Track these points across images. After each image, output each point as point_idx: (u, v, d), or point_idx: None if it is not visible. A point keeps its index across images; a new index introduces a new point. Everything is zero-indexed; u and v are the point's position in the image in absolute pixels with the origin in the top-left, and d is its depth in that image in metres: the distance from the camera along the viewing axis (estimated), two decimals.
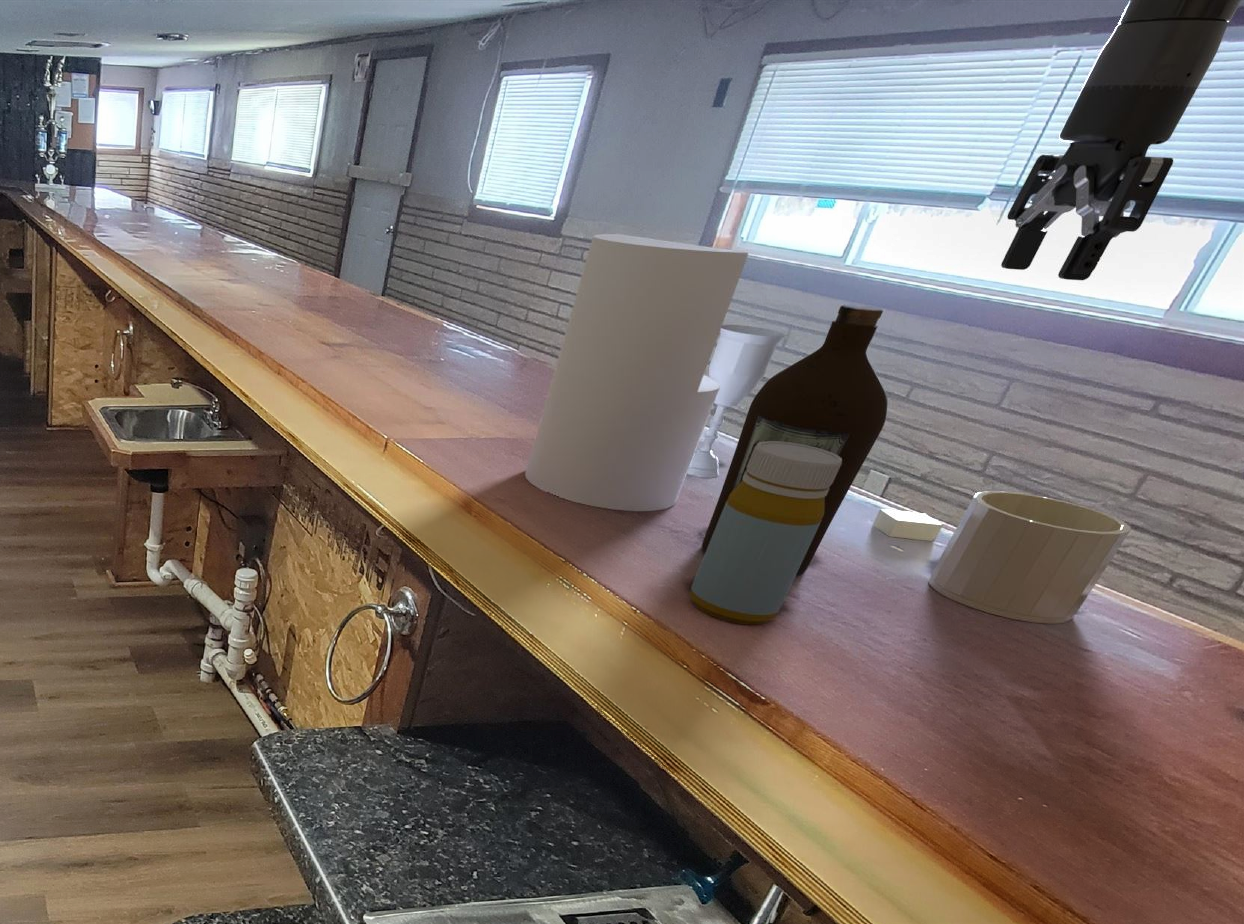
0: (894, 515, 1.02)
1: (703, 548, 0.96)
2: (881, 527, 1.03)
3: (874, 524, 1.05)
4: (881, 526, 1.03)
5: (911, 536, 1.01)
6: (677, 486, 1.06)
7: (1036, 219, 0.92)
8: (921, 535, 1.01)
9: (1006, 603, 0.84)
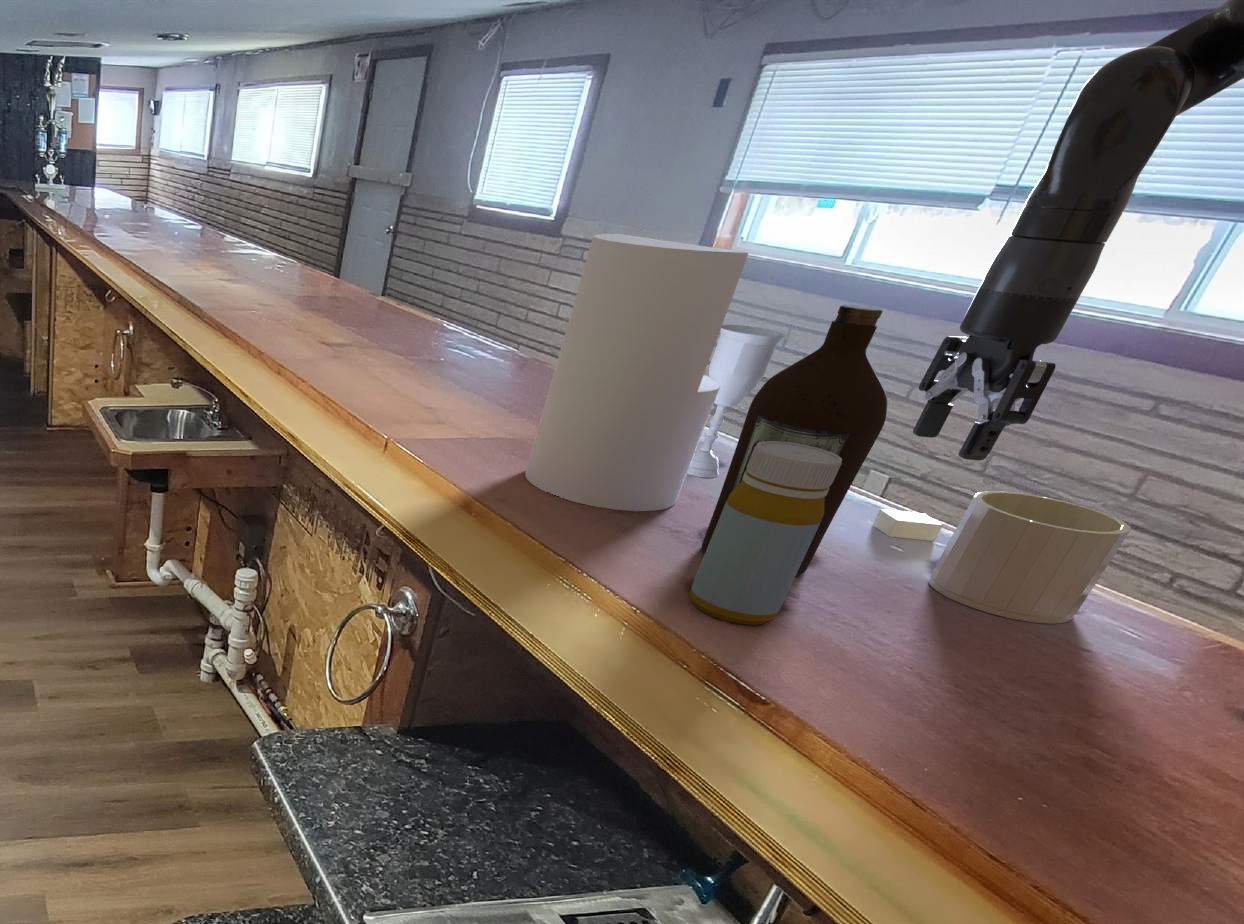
0: (894, 515, 1.02)
1: (703, 548, 0.96)
2: (881, 527, 1.03)
3: (874, 524, 1.05)
4: (881, 526, 1.03)
5: (911, 536, 1.01)
6: (677, 486, 1.06)
7: (943, 394, 0.99)
8: (921, 535, 1.01)
9: (1006, 603, 0.84)
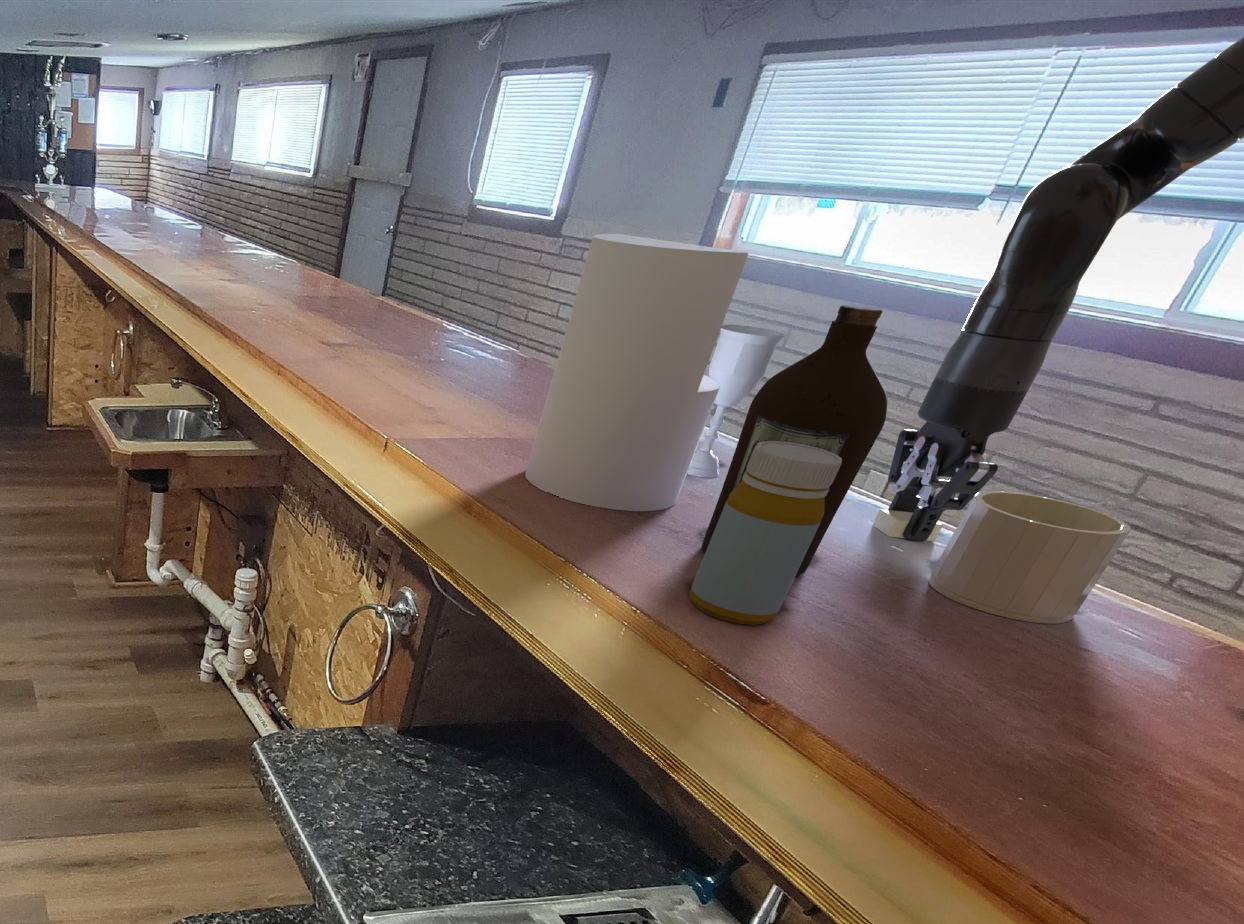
0: (894, 515, 1.02)
1: (703, 548, 0.96)
2: (881, 527, 1.03)
3: (874, 524, 1.05)
4: (881, 526, 1.03)
5: None
6: (677, 486, 1.06)
7: (911, 487, 1.02)
8: None
9: (1006, 603, 0.84)
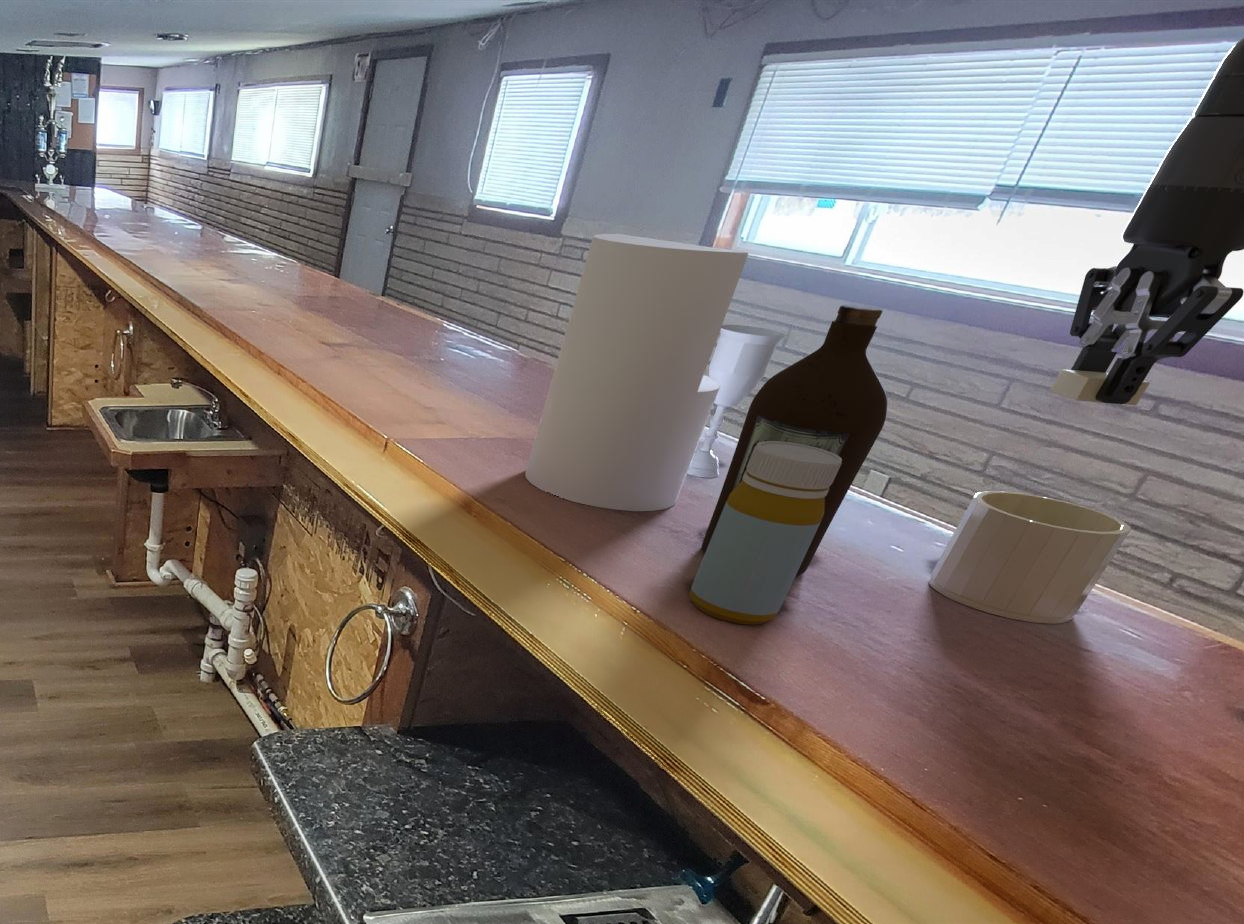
0: (1083, 374, 0.81)
1: (703, 548, 0.96)
2: (1064, 391, 0.82)
3: (1052, 389, 0.83)
4: (1064, 390, 0.82)
5: None
6: (677, 486, 1.06)
7: (1104, 339, 0.81)
8: None
9: (1006, 603, 0.84)
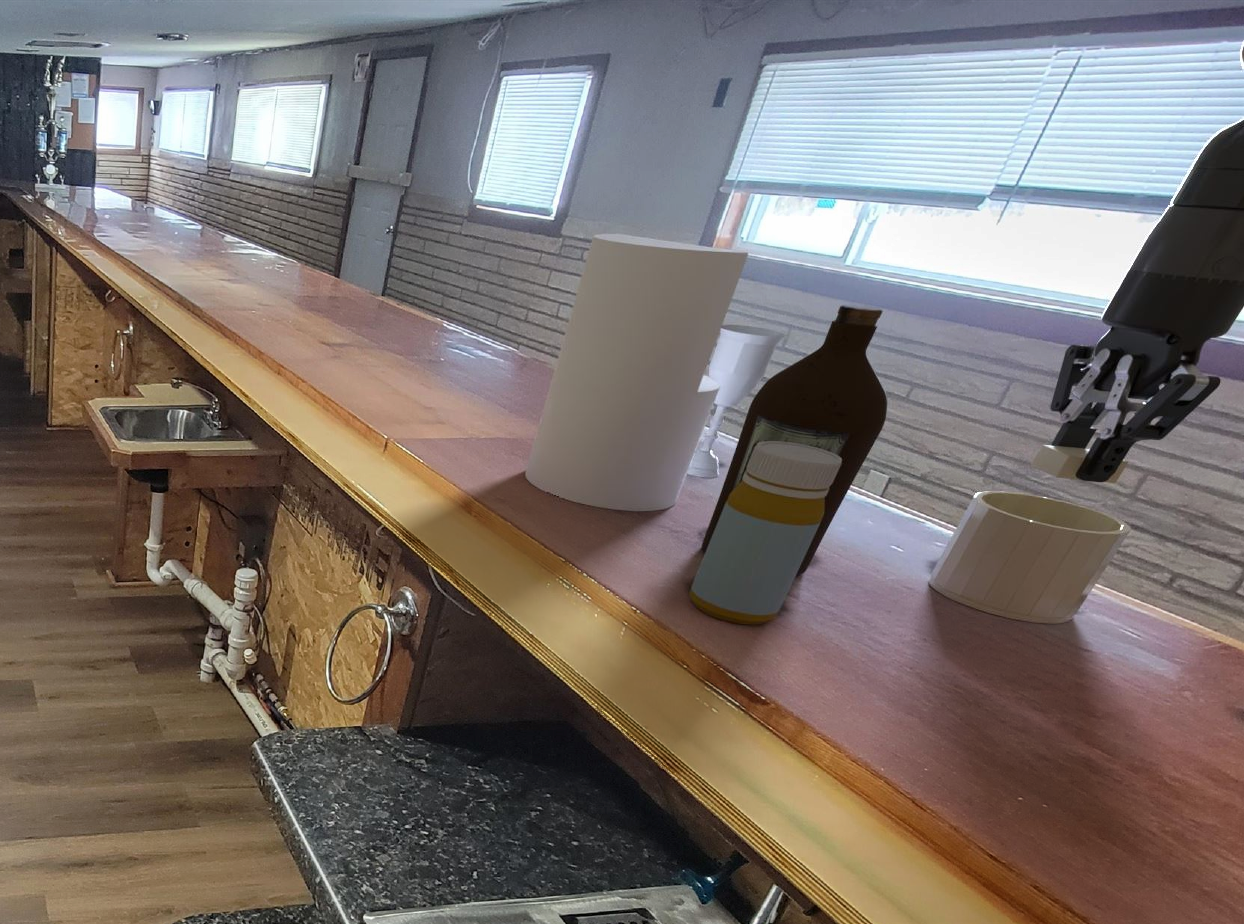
0: (1063, 451, 0.81)
1: (703, 548, 0.96)
2: (1044, 467, 0.82)
3: (1033, 464, 0.84)
4: (1044, 465, 0.83)
5: None
6: (677, 486, 1.06)
7: (1084, 416, 0.82)
8: None
9: (1006, 603, 0.84)
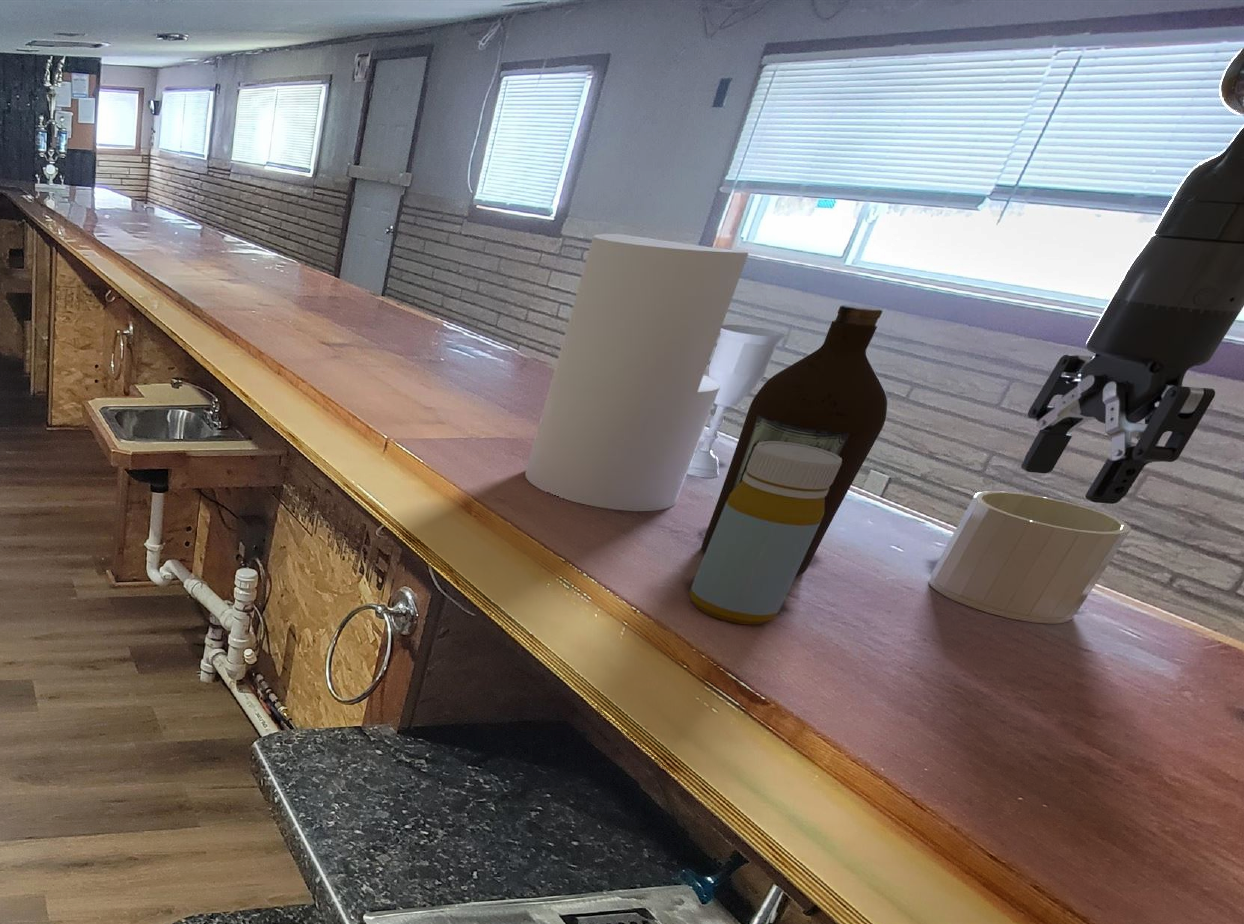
0: None
1: (703, 548, 0.96)
2: None
3: None
4: None
5: None
6: (677, 486, 1.06)
7: (1060, 423, 0.84)
8: None
9: (1006, 603, 0.84)
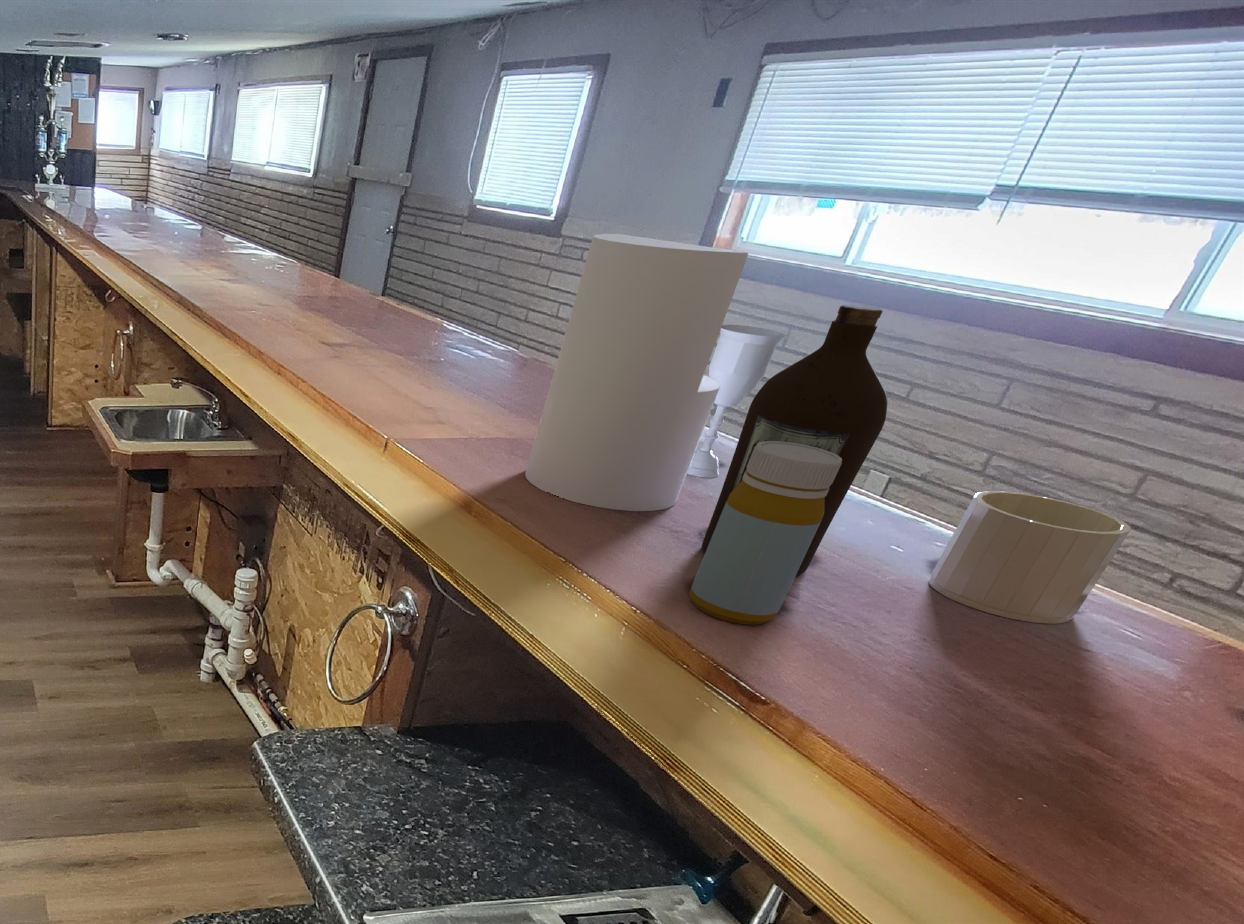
0: None
1: (703, 548, 0.96)
2: None
3: None
4: None
5: None
6: (677, 486, 1.06)
7: None
8: None
9: (1006, 603, 0.84)
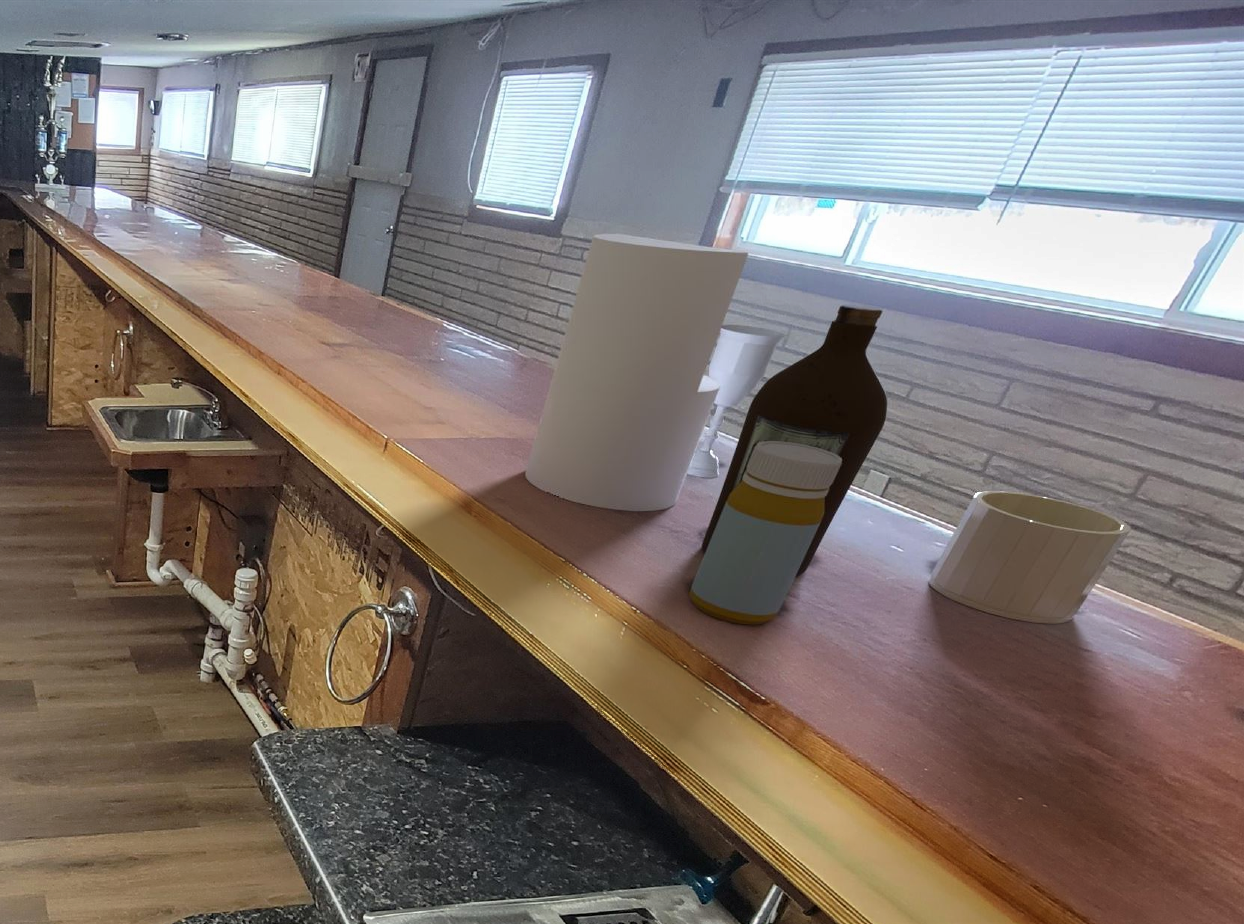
0: None
1: (703, 548, 0.96)
2: None
3: None
4: None
5: None
6: (677, 486, 1.06)
7: None
8: None
9: (1006, 603, 0.84)
